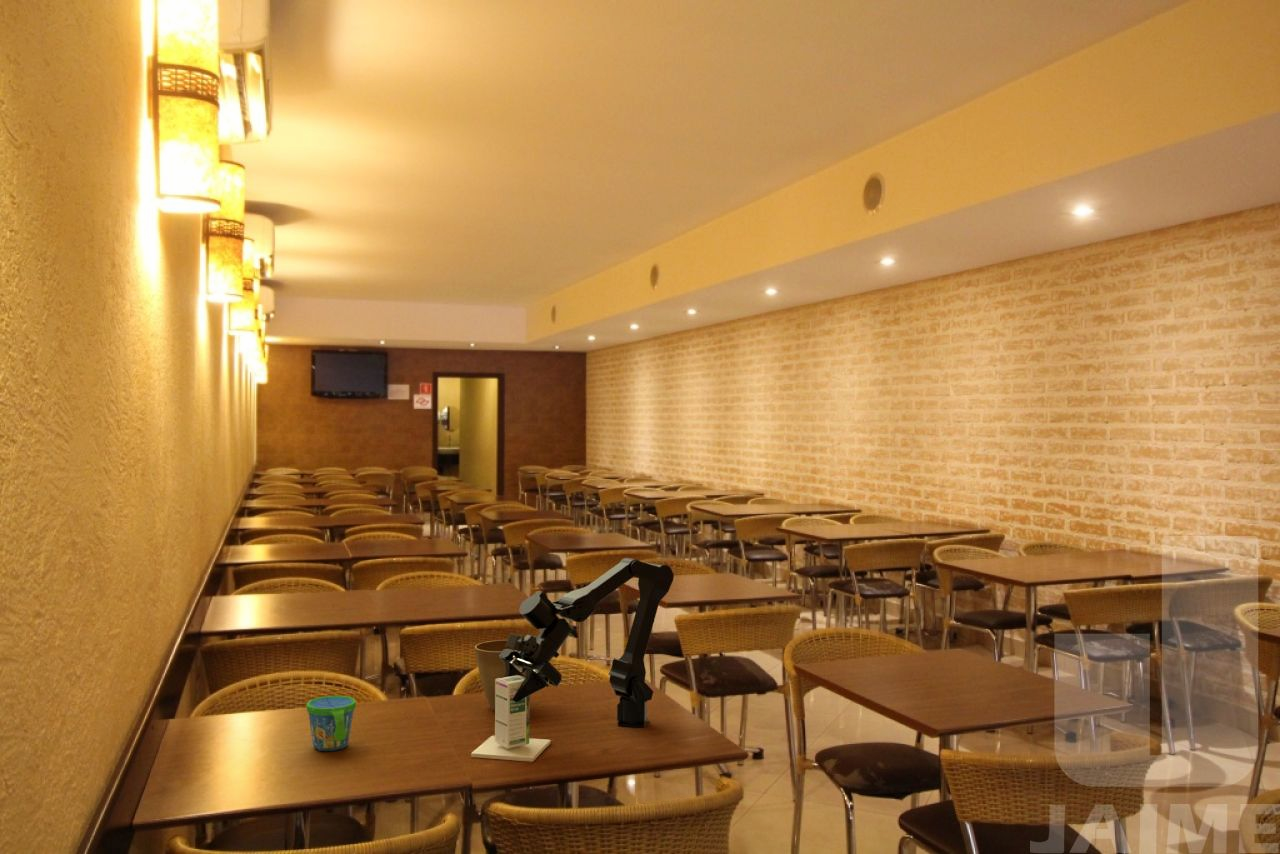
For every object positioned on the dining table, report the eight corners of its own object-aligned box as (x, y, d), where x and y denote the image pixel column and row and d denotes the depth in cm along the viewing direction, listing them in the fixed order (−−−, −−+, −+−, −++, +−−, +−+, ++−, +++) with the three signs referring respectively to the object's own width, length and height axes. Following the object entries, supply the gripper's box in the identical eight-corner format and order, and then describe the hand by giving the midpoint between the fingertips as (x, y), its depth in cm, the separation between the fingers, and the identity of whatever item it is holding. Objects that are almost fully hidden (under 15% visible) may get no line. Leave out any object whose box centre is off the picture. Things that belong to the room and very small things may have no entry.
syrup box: (507, 749, 225) (508, 683, 225) (493, 742, 230) (495, 677, 230) (529, 744, 229) (531, 679, 229) (515, 737, 234) (517, 673, 233)
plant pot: (541, 701, 269) (541, 640, 269) (522, 717, 254) (522, 653, 254) (487, 698, 272) (488, 637, 272) (465, 713, 258) (465, 649, 258)
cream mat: (550, 743, 234) (550, 739, 234) (532, 761, 222) (532, 758, 221) (491, 739, 237) (491, 735, 237) (471, 756, 224) (471, 753, 224)
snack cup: (361, 754, 226) (361, 707, 226) (311, 760, 221) (311, 713, 221) (349, 734, 240) (349, 690, 240) (302, 740, 236) (302, 695, 236)
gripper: (505, 613, 239) (463, 668, 232) (550, 626, 224) (506, 685, 218) (535, 642, 244) (494, 697, 237) (580, 657, 229) (538, 715, 223)
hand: (507, 698), depth 228 cm, fingers closed on syrup box, 6 cm apart
